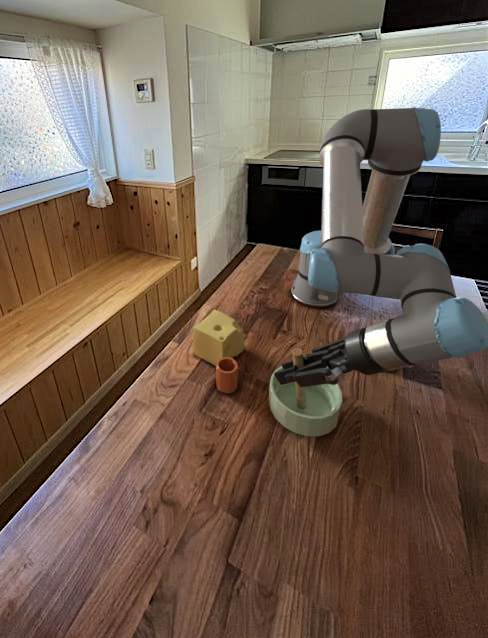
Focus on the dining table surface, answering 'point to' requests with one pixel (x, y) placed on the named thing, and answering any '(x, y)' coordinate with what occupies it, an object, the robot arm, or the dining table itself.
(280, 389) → the bowl
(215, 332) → the cheese
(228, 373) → the utensil cup
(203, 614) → the dining table surface
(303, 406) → the stick
